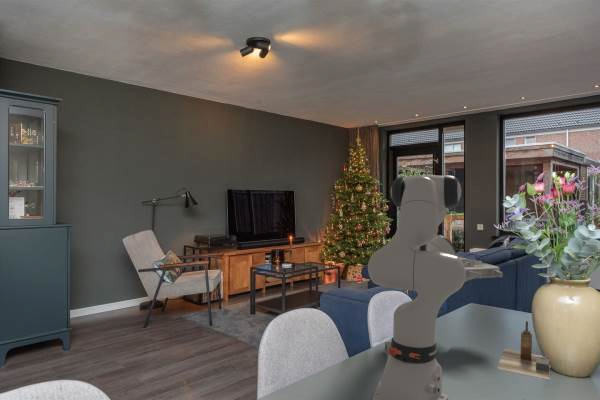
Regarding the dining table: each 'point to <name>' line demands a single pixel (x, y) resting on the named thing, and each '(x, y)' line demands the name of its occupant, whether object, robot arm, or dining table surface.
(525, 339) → the awl
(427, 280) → the robot arm
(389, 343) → the usb wall charger
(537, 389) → the dining table surface
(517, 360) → the subfloor panel
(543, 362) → the block
